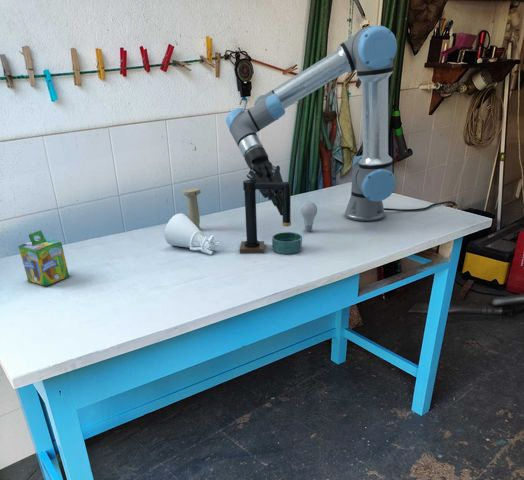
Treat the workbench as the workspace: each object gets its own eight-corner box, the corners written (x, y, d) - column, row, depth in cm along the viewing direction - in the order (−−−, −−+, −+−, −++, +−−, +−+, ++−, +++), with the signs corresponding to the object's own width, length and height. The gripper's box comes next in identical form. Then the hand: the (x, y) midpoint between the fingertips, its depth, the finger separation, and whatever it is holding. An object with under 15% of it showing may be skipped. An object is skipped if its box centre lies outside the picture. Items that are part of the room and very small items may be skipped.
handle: (205, 229, 200) (202, 189, 192) (192, 233, 196) (188, 192, 189) (198, 226, 203) (194, 187, 195) (184, 230, 200) (180, 190, 192)
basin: (301, 244, 183) (301, 232, 180) (302, 254, 174) (302, 241, 172) (272, 244, 183) (272, 232, 181) (272, 255, 174) (271, 242, 172)
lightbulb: (298, 233, 193) (298, 203, 187) (303, 228, 198) (303, 199, 192) (313, 234, 191) (314, 204, 185) (318, 229, 196) (319, 200, 190)
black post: (264, 245, 183) (262, 187, 173) (263, 253, 176) (261, 193, 166) (241, 245, 184) (238, 187, 173) (239, 253, 177) (236, 193, 166)
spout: (243, 225, 174) (241, 182, 167) (246, 222, 178) (244, 179, 170) (290, 227, 171) (290, 183, 164) (291, 223, 175) (291, 180, 167)
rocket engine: (219, 226, 171) (178, 206, 178) (200, 254, 170) (159, 234, 177) (230, 243, 182) (191, 224, 189) (212, 270, 181) (174, 250, 187)
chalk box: (46, 287, 157) (33, 239, 149) (26, 281, 161) (13, 235, 153) (70, 276, 163) (59, 230, 156) (51, 271, 168) (40, 226, 160)
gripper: (264, 157, 183) (294, 215, 181) (233, 162, 176) (264, 222, 174) (274, 143, 177) (305, 202, 174) (241, 148, 170) (274, 210, 167)
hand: (284, 212), depth 174 cm, fingers closed
